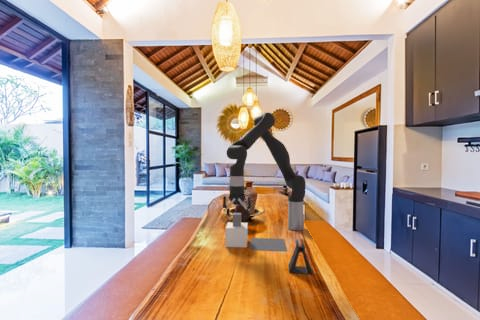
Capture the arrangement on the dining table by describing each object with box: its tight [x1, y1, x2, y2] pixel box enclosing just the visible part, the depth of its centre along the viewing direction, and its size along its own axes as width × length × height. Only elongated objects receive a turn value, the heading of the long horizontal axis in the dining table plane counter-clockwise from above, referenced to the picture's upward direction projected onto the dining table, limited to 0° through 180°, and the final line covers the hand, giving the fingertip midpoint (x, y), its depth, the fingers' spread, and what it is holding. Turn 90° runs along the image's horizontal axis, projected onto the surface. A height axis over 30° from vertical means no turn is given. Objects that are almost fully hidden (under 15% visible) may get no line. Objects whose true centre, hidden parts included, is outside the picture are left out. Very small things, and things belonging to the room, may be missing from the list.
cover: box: [225, 213, 249, 249], centre depth 139 cm, size 11×11×16 cm
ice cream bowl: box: [233, 204, 252, 223], centre depth 169 cm, size 11×11×15 cm
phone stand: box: [288, 238, 313, 275], centre depth 109 cm, size 9×6×12 cm, turn 82°
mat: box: [249, 237, 288, 252], centre depth 138 cm, size 18×18×1 cm
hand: (237, 216), depth 138 cm, fingers open, 8 cm apart
